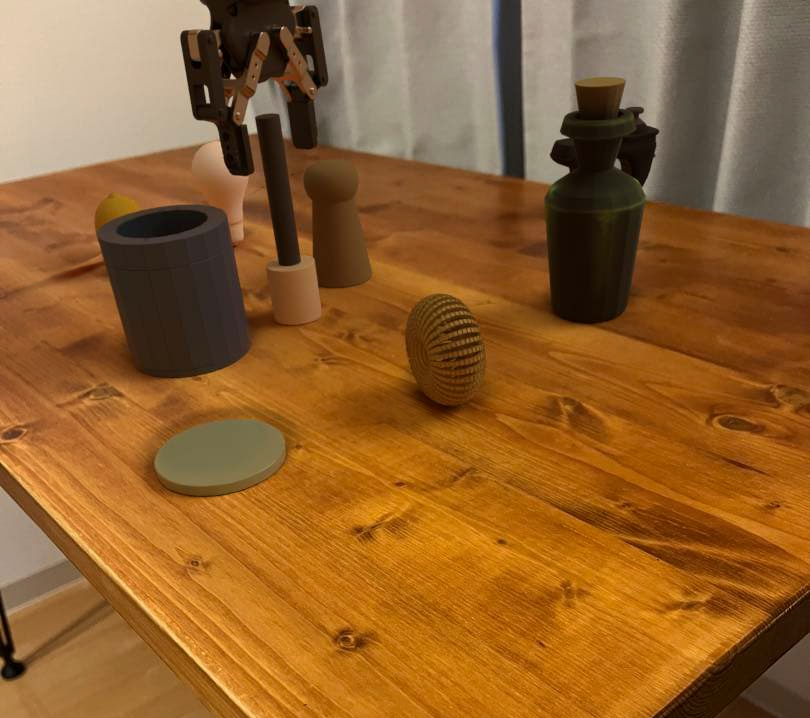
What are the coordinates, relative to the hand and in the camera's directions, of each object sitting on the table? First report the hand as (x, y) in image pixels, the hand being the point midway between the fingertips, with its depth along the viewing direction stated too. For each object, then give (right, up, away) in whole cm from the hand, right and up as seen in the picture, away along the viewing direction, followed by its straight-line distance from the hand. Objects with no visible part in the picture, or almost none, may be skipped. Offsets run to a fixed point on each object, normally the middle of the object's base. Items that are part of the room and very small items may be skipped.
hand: (275, 161), depth 73 cm
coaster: (-2, -26, -12) cm, 29 cm away
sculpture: (+14, -21, -8) cm, 27 cm away
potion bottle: (+27, -11, +4) cm, 30 cm away
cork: (+5, -5, +16) cm, 17 cm away
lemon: (-19, -2, +23) cm, 30 cm away
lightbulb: (-9, +2, +27) cm, 28 cm away
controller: (+33, +6, +27) cm, 44 cm away
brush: (+1, -11, +8) cm, 14 cm away
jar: (-8, -15, +3) cm, 17 cm away
